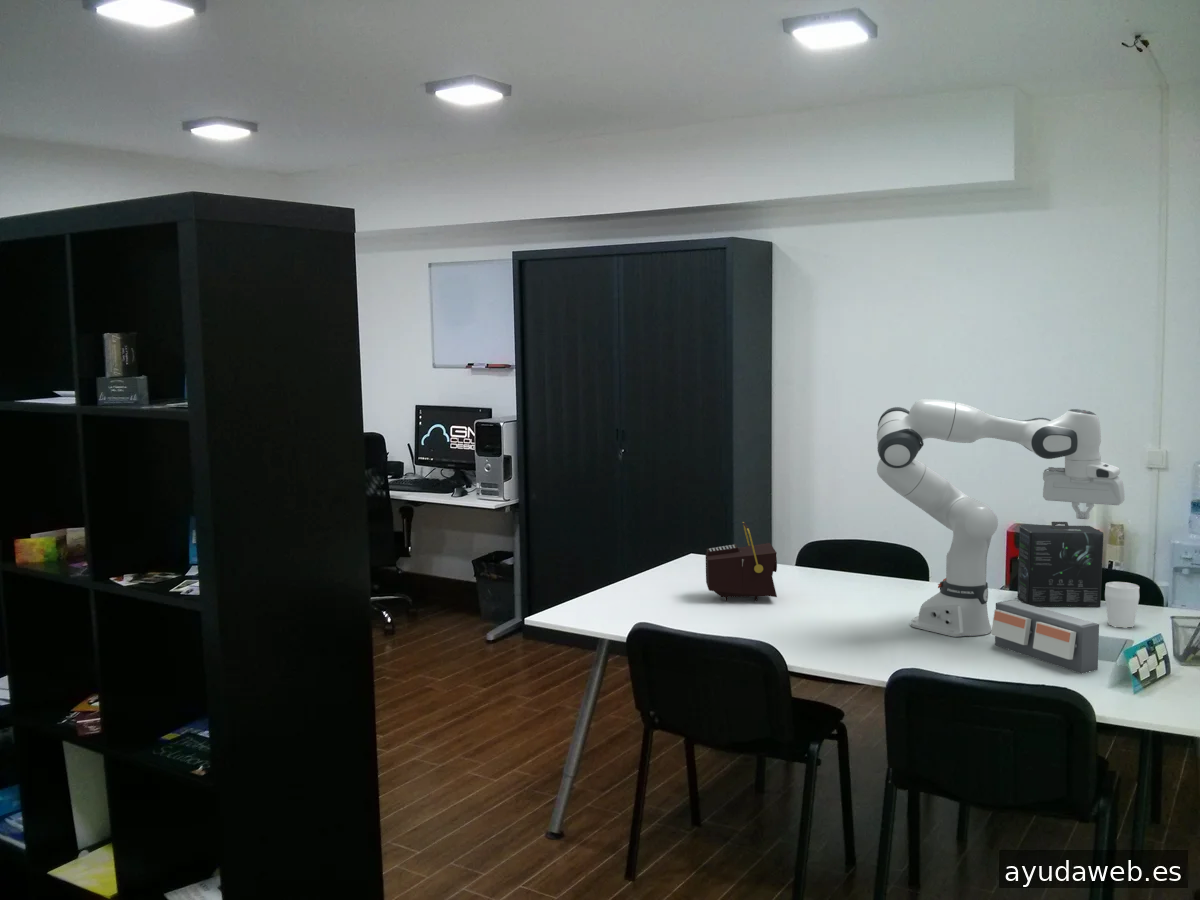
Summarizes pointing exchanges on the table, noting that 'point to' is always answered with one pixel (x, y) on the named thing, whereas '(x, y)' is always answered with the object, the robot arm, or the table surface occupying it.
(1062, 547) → the headset box
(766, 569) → the dark brown boxy piece
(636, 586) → the table surface
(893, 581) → the table surface
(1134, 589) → the cup
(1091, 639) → the switch block
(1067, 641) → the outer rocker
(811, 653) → the table surface
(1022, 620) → the block
